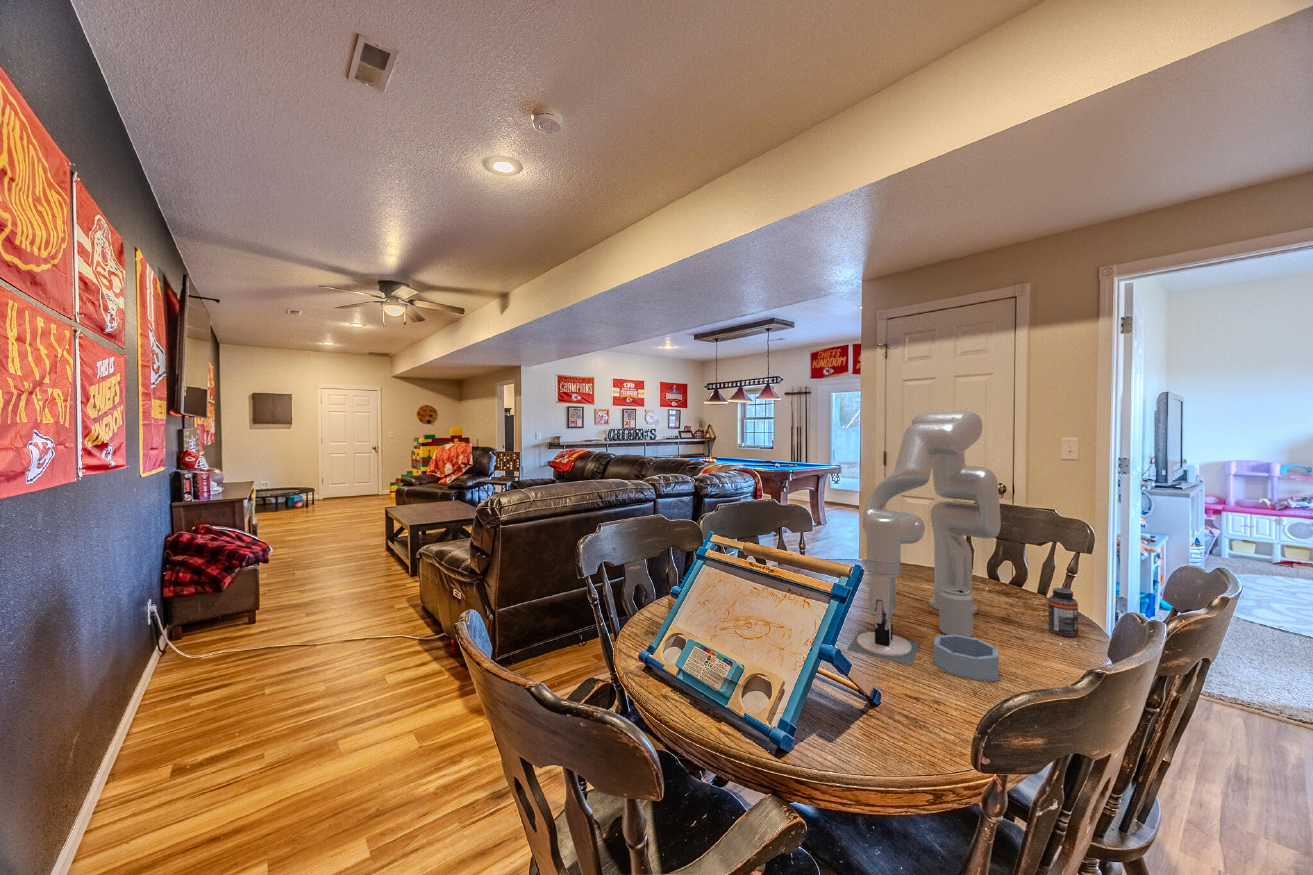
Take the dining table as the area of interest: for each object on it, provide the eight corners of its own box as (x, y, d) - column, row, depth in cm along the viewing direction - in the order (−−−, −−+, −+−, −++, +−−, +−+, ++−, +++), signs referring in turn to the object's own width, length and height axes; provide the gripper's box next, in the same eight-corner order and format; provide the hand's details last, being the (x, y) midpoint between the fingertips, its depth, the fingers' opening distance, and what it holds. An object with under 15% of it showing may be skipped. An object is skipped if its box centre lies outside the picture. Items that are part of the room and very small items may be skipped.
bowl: (937, 651, 118) (937, 631, 118) (998, 664, 112) (998, 642, 112) (932, 672, 108) (932, 649, 108) (998, 687, 102) (998, 663, 102)
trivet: (859, 632, 130) (859, 630, 130) (919, 644, 122) (919, 642, 122) (846, 652, 119) (846, 649, 119) (911, 667, 111) (911, 664, 111)
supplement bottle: (1048, 626, 133) (1048, 584, 132) (1077, 632, 129) (1077, 589, 129) (1048, 633, 128) (1048, 590, 128) (1078, 640, 124) (1078, 595, 124)
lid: (862, 632, 129) (862, 605, 129) (914, 642, 122) (914, 614, 122) (852, 649, 119) (852, 620, 119) (907, 661, 112) (907, 631, 112)
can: (978, 641, 124) (978, 594, 124) (945, 639, 125) (945, 592, 125) (965, 629, 131) (965, 584, 131) (934, 627, 133) (934, 583, 132)
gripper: (873, 557, 129) (874, 627, 129) (859, 572, 116) (859, 650, 116) (905, 561, 125) (905, 633, 125) (894, 577, 111) (895, 658, 112)
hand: (883, 640), depth 120 cm, fingers closed on lid, 3 cm apart
